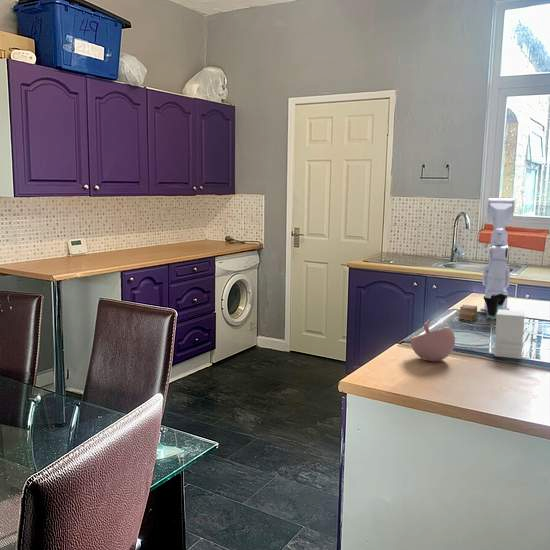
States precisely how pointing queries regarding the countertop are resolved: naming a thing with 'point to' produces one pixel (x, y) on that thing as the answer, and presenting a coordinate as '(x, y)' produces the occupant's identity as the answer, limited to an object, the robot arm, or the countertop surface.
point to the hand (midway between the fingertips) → (494, 314)
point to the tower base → (468, 316)
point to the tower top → (468, 309)
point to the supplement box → (509, 333)
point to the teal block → (495, 313)
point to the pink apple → (433, 343)
